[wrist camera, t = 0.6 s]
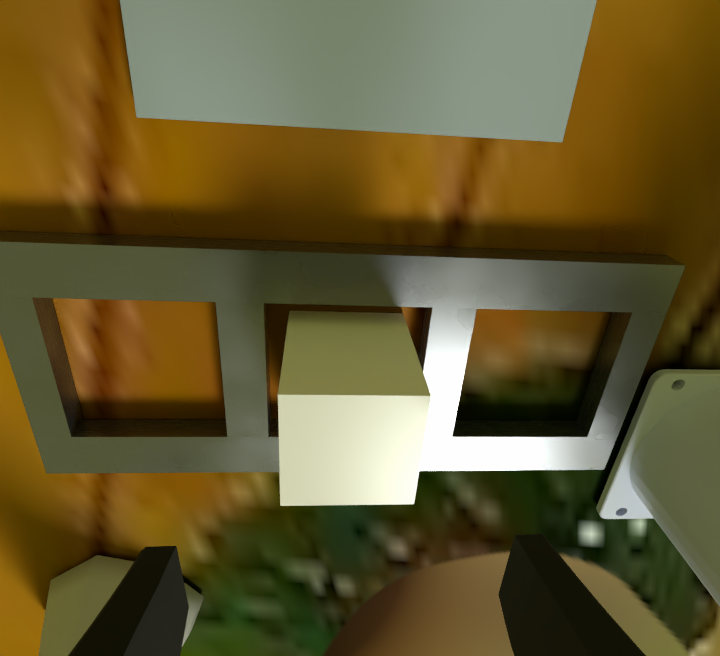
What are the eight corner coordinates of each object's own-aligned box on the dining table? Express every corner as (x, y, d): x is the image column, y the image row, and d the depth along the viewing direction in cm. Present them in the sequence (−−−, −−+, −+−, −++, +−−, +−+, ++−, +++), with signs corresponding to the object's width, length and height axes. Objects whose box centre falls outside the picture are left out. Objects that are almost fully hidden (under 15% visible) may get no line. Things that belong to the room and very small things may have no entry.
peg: (402, 312, 17) (430, 395, 13) (392, 403, 19) (413, 504, 14) (289, 310, 17) (277, 394, 12) (290, 403, 18) (280, 505, 14)
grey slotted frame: (666, 255, 17) (685, 265, 16) (592, 452, 21) (604, 469, 20) (-9, 230, 15) (-30, 240, 14) (59, 454, 19) (46, 473, 18)
